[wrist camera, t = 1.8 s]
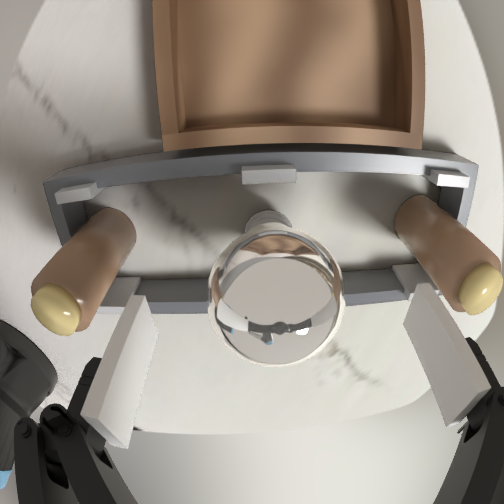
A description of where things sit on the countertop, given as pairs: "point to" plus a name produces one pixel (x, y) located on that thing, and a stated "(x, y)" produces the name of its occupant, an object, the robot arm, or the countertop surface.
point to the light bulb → (275, 293)
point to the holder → (259, 172)
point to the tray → (289, 72)
